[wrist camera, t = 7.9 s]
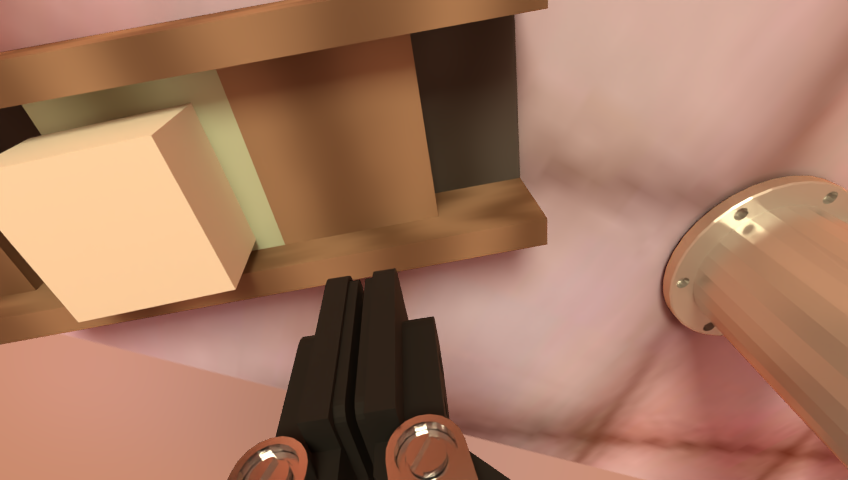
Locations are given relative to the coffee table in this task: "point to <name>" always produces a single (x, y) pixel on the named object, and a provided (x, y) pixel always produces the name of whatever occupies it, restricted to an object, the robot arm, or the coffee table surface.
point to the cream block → (125, 213)
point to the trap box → (304, 135)
